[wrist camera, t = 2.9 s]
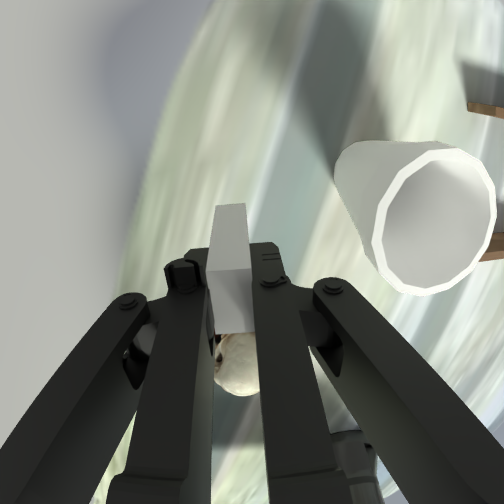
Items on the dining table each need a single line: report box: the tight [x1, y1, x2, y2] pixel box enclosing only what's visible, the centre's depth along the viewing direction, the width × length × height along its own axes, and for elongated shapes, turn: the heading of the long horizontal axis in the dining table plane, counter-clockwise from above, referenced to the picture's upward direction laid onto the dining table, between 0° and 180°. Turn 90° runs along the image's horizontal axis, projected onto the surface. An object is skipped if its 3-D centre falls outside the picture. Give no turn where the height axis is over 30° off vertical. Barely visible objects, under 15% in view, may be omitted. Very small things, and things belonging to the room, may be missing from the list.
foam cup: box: [333, 140, 497, 297], centre depth 22 cm, size 10×9×13 cm
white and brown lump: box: [214, 328, 260, 396], centre depth 35 cm, size 12×10×10 cm
